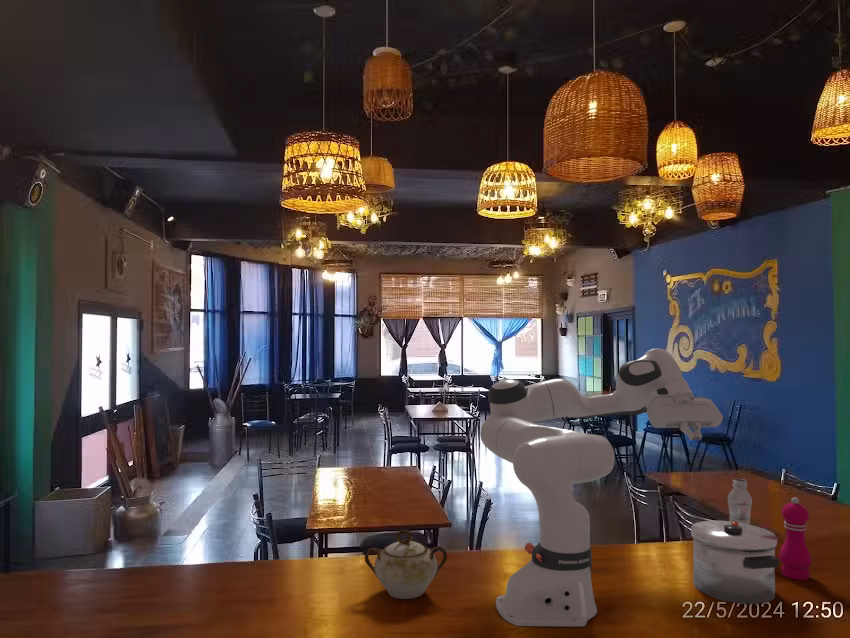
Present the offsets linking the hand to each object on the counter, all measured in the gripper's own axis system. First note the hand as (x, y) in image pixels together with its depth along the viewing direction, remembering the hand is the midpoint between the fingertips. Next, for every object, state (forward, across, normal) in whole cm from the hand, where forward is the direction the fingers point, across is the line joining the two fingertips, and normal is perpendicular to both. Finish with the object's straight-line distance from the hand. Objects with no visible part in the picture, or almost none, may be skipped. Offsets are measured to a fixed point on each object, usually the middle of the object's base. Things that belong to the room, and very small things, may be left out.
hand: (696, 438), depth 174 cm
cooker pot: (+34, -1, -13) cm, 37 cm away
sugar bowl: (+27, +78, -23) cm, 86 cm away
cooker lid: (+26, -1, -5) cm, 26 cm away
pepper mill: (+31, -22, -16) cm, 42 cm away
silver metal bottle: (+18, -20, -30) cm, 40 cm away
